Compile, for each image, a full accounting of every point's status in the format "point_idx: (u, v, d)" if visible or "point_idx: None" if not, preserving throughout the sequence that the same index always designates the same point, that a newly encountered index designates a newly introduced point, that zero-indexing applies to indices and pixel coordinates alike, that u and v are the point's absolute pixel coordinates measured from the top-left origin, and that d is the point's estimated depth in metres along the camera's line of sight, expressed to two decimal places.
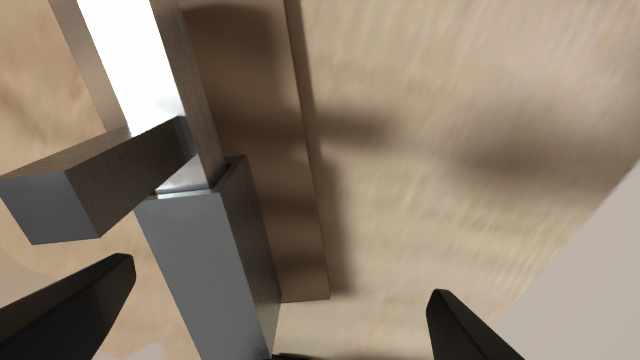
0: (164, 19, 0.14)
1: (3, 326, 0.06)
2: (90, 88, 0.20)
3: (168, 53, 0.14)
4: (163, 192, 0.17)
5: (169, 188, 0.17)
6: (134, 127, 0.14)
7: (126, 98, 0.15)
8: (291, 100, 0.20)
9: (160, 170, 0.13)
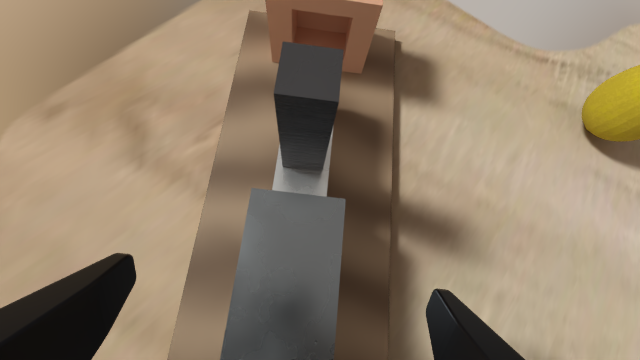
0: None
1: (3, 326, 0.06)
2: (223, 134, 0.24)
3: None
4: None
5: None
6: None
7: None
8: (385, 183, 0.23)
9: None
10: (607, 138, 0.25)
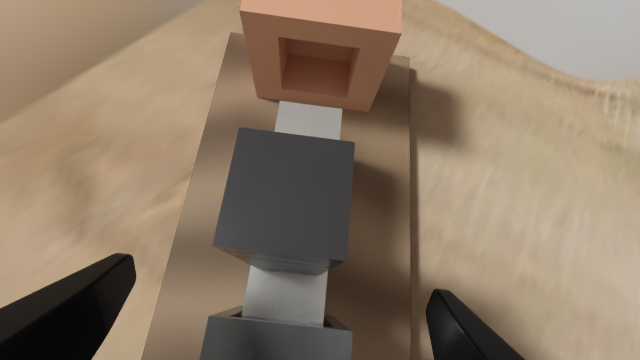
0: None
1: (3, 326, 0.06)
2: (189, 195, 0.18)
3: None
4: None
5: (264, 314, 0.12)
6: None
7: None
8: (402, 261, 0.18)
9: None
10: None
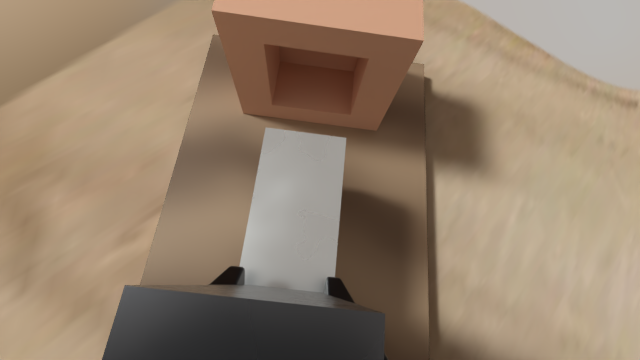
0: None
1: None
2: (158, 236, 0.15)
3: (339, 209, 0.11)
4: None
5: None
6: (281, 289, 0.08)
7: (256, 248, 0.10)
8: (419, 319, 0.14)
9: None
10: None
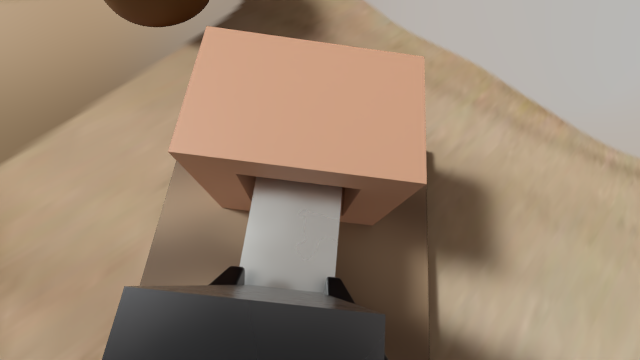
0: None
1: None
2: None
3: (339, 209, 0.11)
4: None
5: None
6: (281, 289, 0.08)
7: (256, 248, 0.10)
8: None
9: None
10: None
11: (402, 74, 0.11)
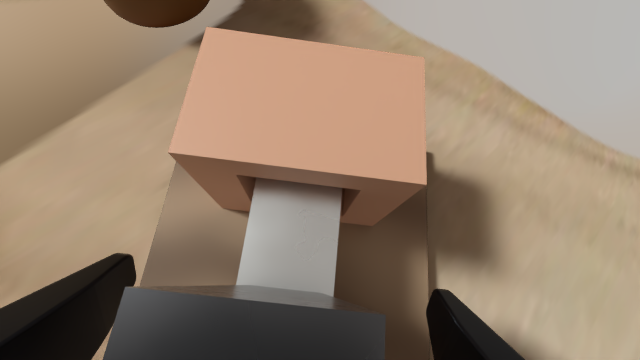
0: None
1: (3, 326, 0.06)
2: None
3: (339, 209, 0.11)
4: None
5: None
6: (281, 289, 0.08)
7: (256, 248, 0.10)
8: None
9: None
10: None
11: (402, 74, 0.11)
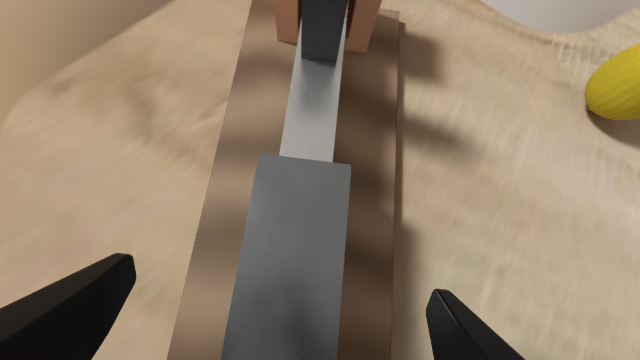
0: None
1: (3, 326, 0.06)
2: (228, 110, 0.24)
3: (347, 7, 0.22)
4: (297, 81, 0.19)
5: (305, 79, 0.19)
6: None
7: None
8: (389, 159, 0.24)
9: None
10: (610, 117, 0.25)
11: None
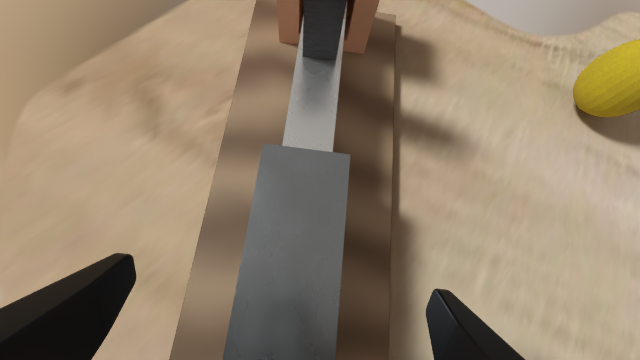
0: None
1: (3, 326, 0.06)
2: (233, 107, 0.25)
3: (346, 10, 0.23)
4: (299, 78, 0.20)
5: (306, 76, 0.20)
6: None
7: None
8: (386, 153, 0.25)
9: None
10: (597, 114, 0.26)
11: None
